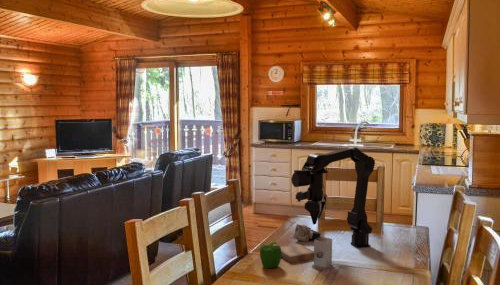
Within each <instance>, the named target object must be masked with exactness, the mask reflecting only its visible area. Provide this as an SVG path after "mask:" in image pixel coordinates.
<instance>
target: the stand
mask: <svg viewBox="0 0 500 285" xmlns="http://www.w3.org/2000/svg"><path fill="white" fill-rule="evenodd" d="M280 248H281V251H282V252H281V259H283V260H285V261H286V262H288V263H289V264H291V263H297V262H302V261H307V260H308V261H309V260H314V250H311V249H310V248H308V247H306V246H305V245H302V244H300V243H299V244H293V245H287V246H286V245H285V246H280Z"/></svg>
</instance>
